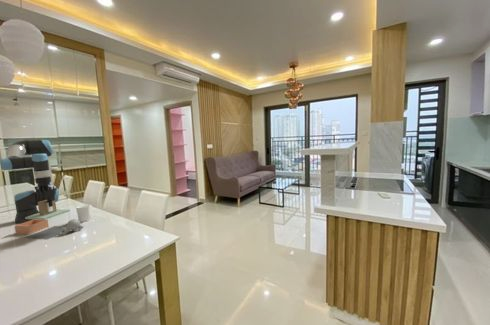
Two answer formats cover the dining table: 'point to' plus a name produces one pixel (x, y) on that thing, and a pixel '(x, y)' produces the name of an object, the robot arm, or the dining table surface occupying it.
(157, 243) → the dining table surface
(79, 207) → the candle holder
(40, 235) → the mat
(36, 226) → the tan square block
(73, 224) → the round bodied animal figurine
